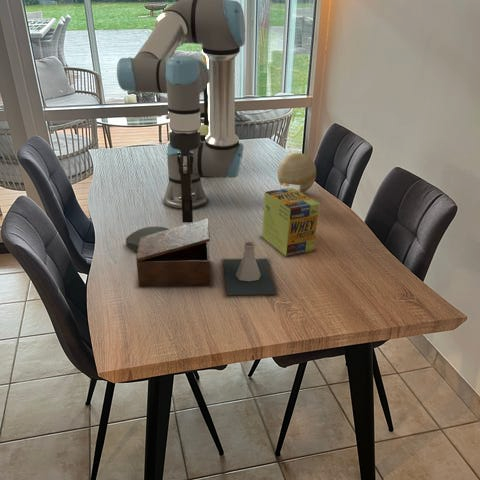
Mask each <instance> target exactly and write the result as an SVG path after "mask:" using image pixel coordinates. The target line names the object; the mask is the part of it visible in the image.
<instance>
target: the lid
mask: <svg viewBox="0 0 480 480" xmlns="http://www.w3.org/2000/svg"><path fill="white" fill-rule="evenodd" d="M206 242H209V243H210V242H211V238H210V221H209V218H208V217H207V218H204V219H201V220H197V221H193V223H185V224H182V225H180V226H176V227H172V228H168V230H165V231H161V232H158V233H154V234H150V235H147V236H143V237H140V242H139V247H138V252H137V251H136V257H135V260H136V262H137V261H141V260H145V259H148V258H152V257H155V256H159V255H163V254H166V253H170V252H174V251H177V250H181V249H184V248H188V247H192V246H195V245H199V244H202V243H206Z"/></svg>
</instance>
